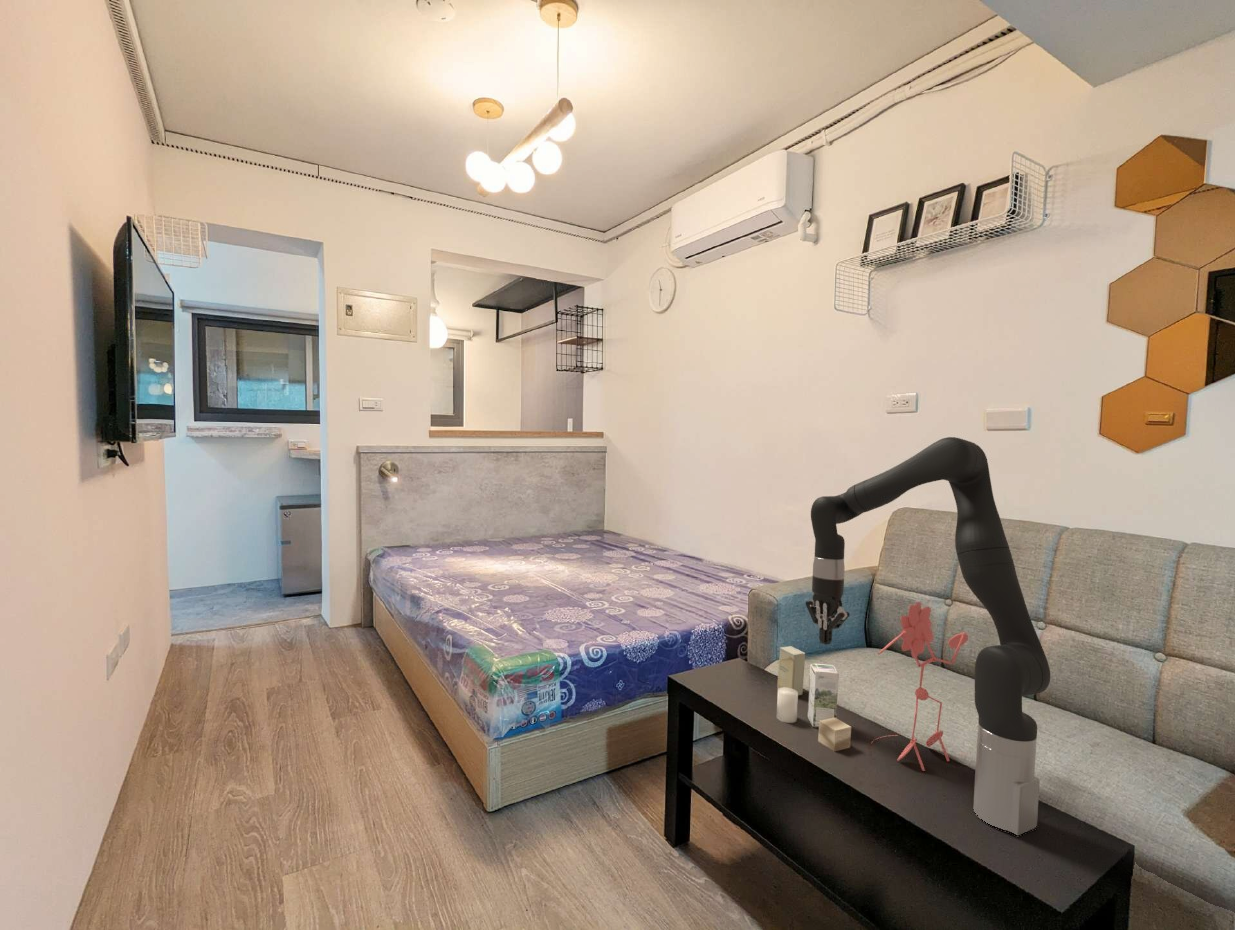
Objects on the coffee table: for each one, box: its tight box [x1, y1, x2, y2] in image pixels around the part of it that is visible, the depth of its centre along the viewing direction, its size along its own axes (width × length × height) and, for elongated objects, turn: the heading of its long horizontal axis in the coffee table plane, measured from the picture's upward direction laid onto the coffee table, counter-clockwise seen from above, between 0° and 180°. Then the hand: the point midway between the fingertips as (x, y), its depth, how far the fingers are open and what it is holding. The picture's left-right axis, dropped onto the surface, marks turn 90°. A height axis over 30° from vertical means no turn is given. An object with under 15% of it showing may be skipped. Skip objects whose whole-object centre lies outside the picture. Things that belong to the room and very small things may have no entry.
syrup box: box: [806, 662, 840, 729], centre depth 146 cm, size 6×6×14 cm
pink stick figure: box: [869, 601, 969, 772], centre depth 134 cm, size 15×26×35 cm, turn 119°
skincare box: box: [776, 645, 806, 696], centre depth 165 cm, size 6×4×12 cm
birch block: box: [817, 717, 852, 752], centre depth 136 cm, size 5×5×5 cm
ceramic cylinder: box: [776, 687, 799, 724], centre depth 148 cm, size 5×5×7 cm
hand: (825, 643), depth 145 cm, fingers closed
